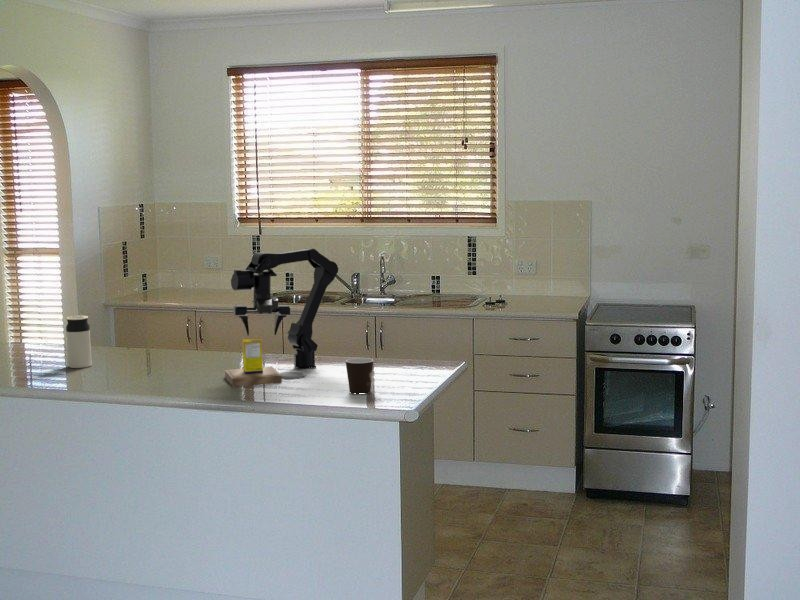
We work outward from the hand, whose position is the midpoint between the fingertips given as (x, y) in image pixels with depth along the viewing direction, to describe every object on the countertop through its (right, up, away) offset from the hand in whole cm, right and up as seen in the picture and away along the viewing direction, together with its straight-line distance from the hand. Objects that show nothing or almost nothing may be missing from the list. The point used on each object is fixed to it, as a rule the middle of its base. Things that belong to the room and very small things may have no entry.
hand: (261, 335), depth 325 cm
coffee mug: (+36, -17, -28) cm, 48 cm away
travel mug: (-68, -12, +19) cm, 72 cm away
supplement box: (-1, -12, -9) cm, 15 cm away
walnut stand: (-1, -15, -9) cm, 17 cm away
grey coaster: (+10, -14, -4) cm, 18 cm away
